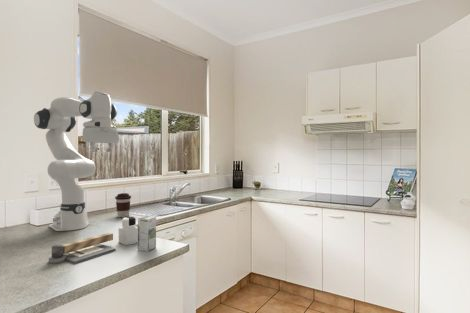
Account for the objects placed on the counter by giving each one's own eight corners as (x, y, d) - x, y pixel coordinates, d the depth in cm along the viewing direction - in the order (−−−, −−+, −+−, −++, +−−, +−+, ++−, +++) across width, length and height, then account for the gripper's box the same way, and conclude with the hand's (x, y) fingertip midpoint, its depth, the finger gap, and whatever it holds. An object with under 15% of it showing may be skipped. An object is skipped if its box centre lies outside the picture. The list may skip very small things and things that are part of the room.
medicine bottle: (131, 239, 147) (131, 215, 146) (139, 241, 142) (139, 217, 142) (118, 242, 141) (118, 217, 141) (126, 245, 137) (126, 220, 136)
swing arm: (54, 258, 115) (54, 248, 115) (49, 256, 117) (49, 246, 117) (113, 241, 137) (113, 232, 137) (108, 239, 139) (108, 231, 139)
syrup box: (145, 246, 136) (145, 215, 135) (156, 247, 133) (156, 216, 133) (137, 250, 130) (137, 217, 130) (148, 252, 128) (148, 218, 128)
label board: (40, 259, 119) (40, 255, 119) (94, 244, 138) (94, 241, 138) (61, 268, 110) (61, 264, 110) (115, 250, 130) (115, 247, 130)
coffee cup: (126, 218, 191) (126, 195, 191) (112, 217, 193) (112, 194, 193) (133, 214, 201) (133, 193, 201) (120, 214, 203) (120, 192, 202)
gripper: (112, 126, 158) (112, 152, 158) (80, 122, 139) (80, 152, 139) (121, 125, 156) (121, 151, 156) (90, 122, 136) (90, 152, 137)
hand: (102, 152), depth 147 cm, fingers open, 8 cm apart
